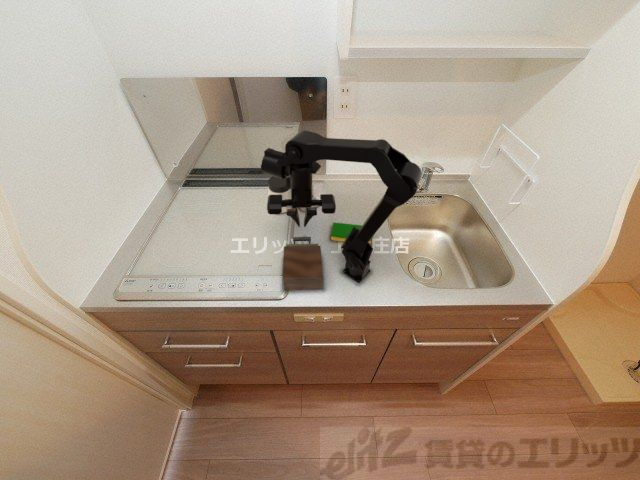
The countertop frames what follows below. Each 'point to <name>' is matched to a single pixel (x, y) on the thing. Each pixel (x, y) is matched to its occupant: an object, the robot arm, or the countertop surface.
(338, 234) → the dish sponge
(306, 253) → the cabinet
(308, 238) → the drawer
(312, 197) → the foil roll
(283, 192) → the jar
